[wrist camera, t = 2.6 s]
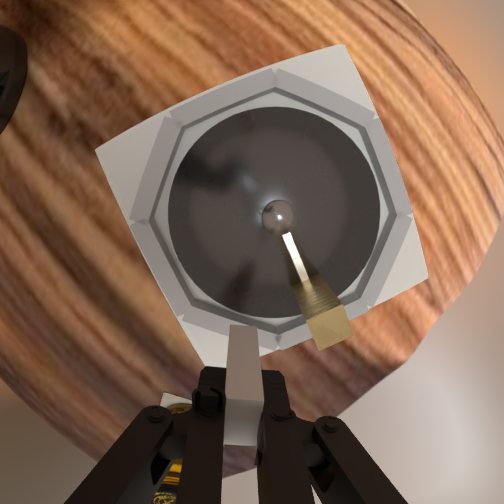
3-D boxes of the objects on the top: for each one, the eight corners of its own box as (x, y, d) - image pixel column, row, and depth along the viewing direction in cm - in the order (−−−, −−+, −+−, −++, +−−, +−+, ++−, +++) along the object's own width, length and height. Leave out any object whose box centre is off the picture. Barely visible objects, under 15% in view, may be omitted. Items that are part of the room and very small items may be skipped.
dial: (138, 164, 23) (99, 161, 16) (328, 82, 22) (360, 52, 15) (225, 339, 26) (222, 391, 19) (396, 263, 25) (441, 292, 18)
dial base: (104, 150, 24) (86, 148, 21) (336, 51, 23) (348, 36, 20) (212, 363, 30) (209, 384, 26) (418, 271, 28) (436, 282, 25)
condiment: (163, 391, 30) (138, 477, 19) (240, 412, 31) (241, 501, 20) (152, 432, 32) (131, 511, 20) (220, 451, 33) (217, 531, 21)
